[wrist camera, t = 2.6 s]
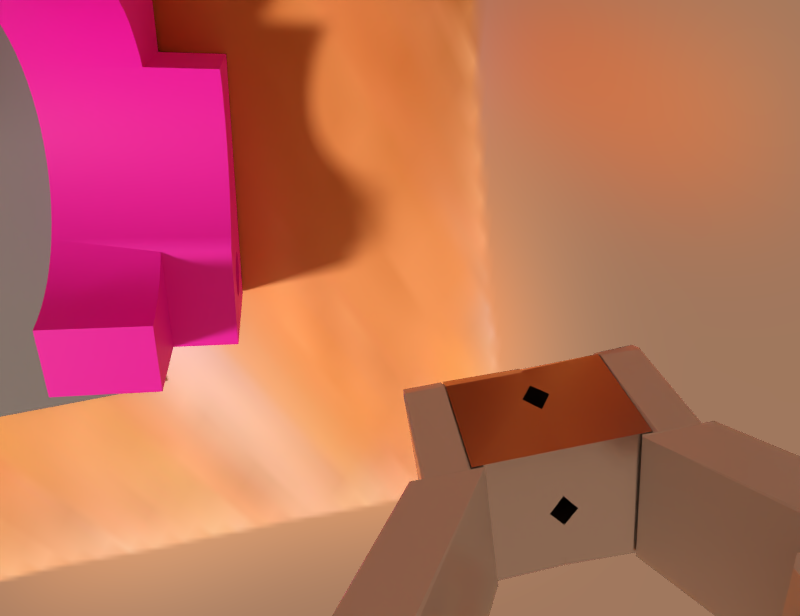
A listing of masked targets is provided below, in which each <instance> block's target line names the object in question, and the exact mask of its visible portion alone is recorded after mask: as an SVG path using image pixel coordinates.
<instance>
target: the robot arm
mask: <svg viewBox="0 0 800 616" xmlns="http://www.w3.org/2000/svg"><path fill="white" fill-rule="evenodd" d="M404 401H405V406H406V412H407V418H408V423H409V429H410V435H411V440H412V446H413V452H414V457H415V463H416V468H417V474H418V480H416V481H411V482H409V484H408V485H407V487H406V489H405V491H404V492H403V494H402V496H401V498H400V499H399V501H398V503H397V505H396V506H395V508H394V510H393V511H392V513H391V515H390V517H389V519H388V520H387V522H386V524H385V525H384V527H383V529H382V530H381V532H380V534H379V536H378V538H377V539H376V541H375V543H374V544H373V546H372V548H371V550H370V551H369V553H368V555H367V556H366V558H365V560H364V562H363V563H362V565H361V567H360V569H359V570H358V572H357V574H356V575H355V577H354V579H353V581H352V582H351V584H350V586H349V588H348V589H347V591H346V593H345V595H344V596H343V598H342V600H341V602H340V603H339V605H338V607H337V608H336V610H335V612H334V614H333V615H332V616H489V614H490V610H491V607H492V604H493V600H494V597H495V594H496V590H497V587H498V581H499V580H503V579H507V578H512V577H516V576H519V575H524V574H529V573H533V572H537V571H541V570H545V569H549V568H554V567H558V566H562V565H565V564H566V565H567V564H573V563H579V562H584V561H590V560H595V559H601V558H607V557H612V556H618V555H624V554H629V553H635V552H636V556H637V557H638V558H640V559H641V560H642V561H643V562H645V563H646V564H648V565H649V566H650V567H651V568H653V569H654V570H655V571H657V572H658V573H659V574H661V575H662V576H663V577H665V578H666V579H667V580H669V581H670V582H671V583H673V584H674V585H675V586H677V587H678V588H679V589H681V590H682V591H683V592H684V593H686V594H687V595H688V596H690V597H691V598H692V599H694V600H695V601H696V602H698V603H699V604H700V605H702V606H703V607H704V608H706V609H707V610H708V611H709V612H711V613H712V614H714V615H715V616H800V456H798V455H795V454H793V453H790V452H788V451H786V450H783V449H781V448H778V447H776V446H774V445H771V444H769V443H766V442H764V441H762V440H759V439H757V438H754V437H752V436H749V435H747V434H744V433H742V432H740V431H737V430H735V429H732V428H730V427H728V426H725V425H723V424H720V423H718V422H715V421H711V422H706V423H701V422H700V421H699V419H698V418H697V417H696V416H695V414H694V413H693V412H692V411H691V410H690V408H689V407H688V406H687V405H686V404H685V403H684V401H683V400H682V399H681V398H680V397H679V395H678V394H677V393H676V392H675V390H674V389H673V388H672V387H671V386H670V384H669V383H668V382H667V381H666V380H665V378H664V377H663V376H662V375H661V374H660V372H659V371H658V370H657V369H656V368H655V366H654V365H653V364H652V363H651V362H650V360H649V359H648V358H647V357H646V356H645V354H644V353H643V352H642V351H641V349H640V348H638V347H636V346H634V345H629V346H624V347H619V348H615V349H611V350H606V351H601V352H597V353H594V354H593V355H590V356H585V357H580V358H575V359H569V360H564V361H559V362H554V363H550V364H544V365H539V366H535V367H530V368H525V369H516V370H510V371H504V372H498V373H492V374H486V375H481V376H475V377H469V378H463V379H458V380H452V381H446V382H443V384H442V383H436V384H430V385H425V386H420V387H415V388H409V389H404Z"/></svg>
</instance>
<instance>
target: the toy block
mask: <svg viewBox="0 0 800 616" xmlns="http://www.w3.org/2000/svg"><path fill="white" fill-rule="evenodd" d="M0 25H1V27H2V28H3V30H4V32H5V34H6V35H7V37H8V39H9V41H10V43H11V45H12V47H13V49H14V51H15V53H16V55H17V57H18V60H19V62H20V64H21V67H22V69H23V72H24V74H25V77H26V80H27V83H28V86H29V89H30V92H31V95H32V98H33V101H34V105H35V108H36V112H37V116H38V120H39V124H40V128H41V133H42V138H43V143H44V148H45V154H46V160H47V168H48V175H49V185H50V198H51V253H50V263H49V272H48V279H47V285H46V290H45V294H44V299H43V302H42V306H41V310H40V313H39V316H38V318H37V321H36V323H35V326H34V328H33V335H34V339H35V343H36V347H37V351H38V355H39V359H40V363H41V367H42V371H43V375H44V380H45V384H46V388H47V392H48V396H49V397H66V396H84V395H103V394H121V393H140V392H159V391H163V387H164V383H165V379H166V374H167V370H168V366H169V362H170V358H171V354H172V350H173V347H179V346H202V345H226V344H238V342H239V330H240V318H241V306H242V294H243V291H242V277H241V262H240V248H239V233H238V219H237V204H236V189H235V175H234V160H233V146H232V131H231V117H230V102H229V88H228V73H227V59H226V54H211V53H177V52H158V46H157V37H156V28H155V20H154V11H153V2H152V0H0Z"/></svg>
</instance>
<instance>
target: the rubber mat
mask: <svg viewBox="0 0 800 616" xmlns="http://www.w3.org/2000/svg"><path fill="white" fill-rule="evenodd" d="M50 253H51V198H50V185H49V175H48V168H47V160H46V154H45V148H44V143H43V138H42V133H41V128H40V124H39V120H38V116H37V112H36V108H35V105H34V101H33V98H32V95H31V92H30V89H29V86H28V83H27V80H26V77H25V74H24V72H23V69H22V67H21V64H20V62H19V60H18V57H17V55H16V53H15V51H14V49H13V47H12V45H11V43H10V41H9V39H8V37H7V35H6V34H5V32H4V30H3V28H2V27H1V25H0V417H1V416H6V415H11V414H16V413H22V412H27V411H32V410H38V409H43V408H48V407H53V406H59V405H64V404H69V403H74V402H80V401H85V400H90V399H95V398H101V397H106V396H111V395H116V394H103V395H84V396H66V397H49V396H48V392H47V388H46V384H45V380H44V375H43V371H42V367H41V363H40V359H39V355H38V351H37V347H36V343H35V339H34V335H33V328H34V326H35V323H36V321H37V318H38V316H39V313H40V310H41V306H42V302H43V299H44V294H45V290H46V285H47V279H48V272H49V263H50ZM121 394H122V393H121Z"/></svg>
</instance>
